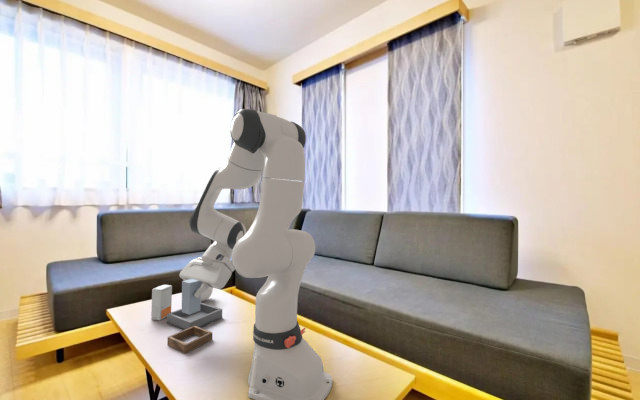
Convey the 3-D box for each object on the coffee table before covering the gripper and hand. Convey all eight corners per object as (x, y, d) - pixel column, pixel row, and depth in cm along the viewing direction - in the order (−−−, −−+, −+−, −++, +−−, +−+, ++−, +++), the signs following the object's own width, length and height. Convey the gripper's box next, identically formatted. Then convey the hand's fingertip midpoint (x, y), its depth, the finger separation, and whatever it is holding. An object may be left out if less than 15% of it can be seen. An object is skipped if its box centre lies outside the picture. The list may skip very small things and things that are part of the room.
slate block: (200, 310, 89) (200, 280, 89) (189, 314, 86) (189, 283, 86) (192, 307, 91) (193, 278, 91) (181, 312, 88) (181, 281, 88)
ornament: (217, 298, 128) (217, 273, 128) (201, 306, 118) (202, 279, 119) (199, 296, 131) (199, 271, 131) (182, 303, 122) (183, 276, 122)
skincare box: (160, 320, 104) (160, 289, 104) (150, 319, 105) (151, 288, 105) (171, 314, 110) (172, 285, 110) (162, 313, 111) (163, 284, 111)
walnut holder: (212, 339, 91) (212, 332, 91) (185, 353, 82) (185, 345, 82) (194, 332, 95) (194, 325, 95) (167, 344, 87) (167, 337, 87)
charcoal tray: (222, 317, 107) (222, 309, 107) (190, 332, 95) (190, 322, 95) (199, 310, 114) (199, 302, 114) (166, 323, 102) (167, 313, 102)
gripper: (191, 251, 100) (164, 285, 91) (229, 257, 90) (203, 295, 81) (201, 261, 104) (176, 294, 95) (239, 268, 94) (215, 305, 85)
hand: (189, 295), depth 88 cm, fingers closed on slate block, 4 cm apart
